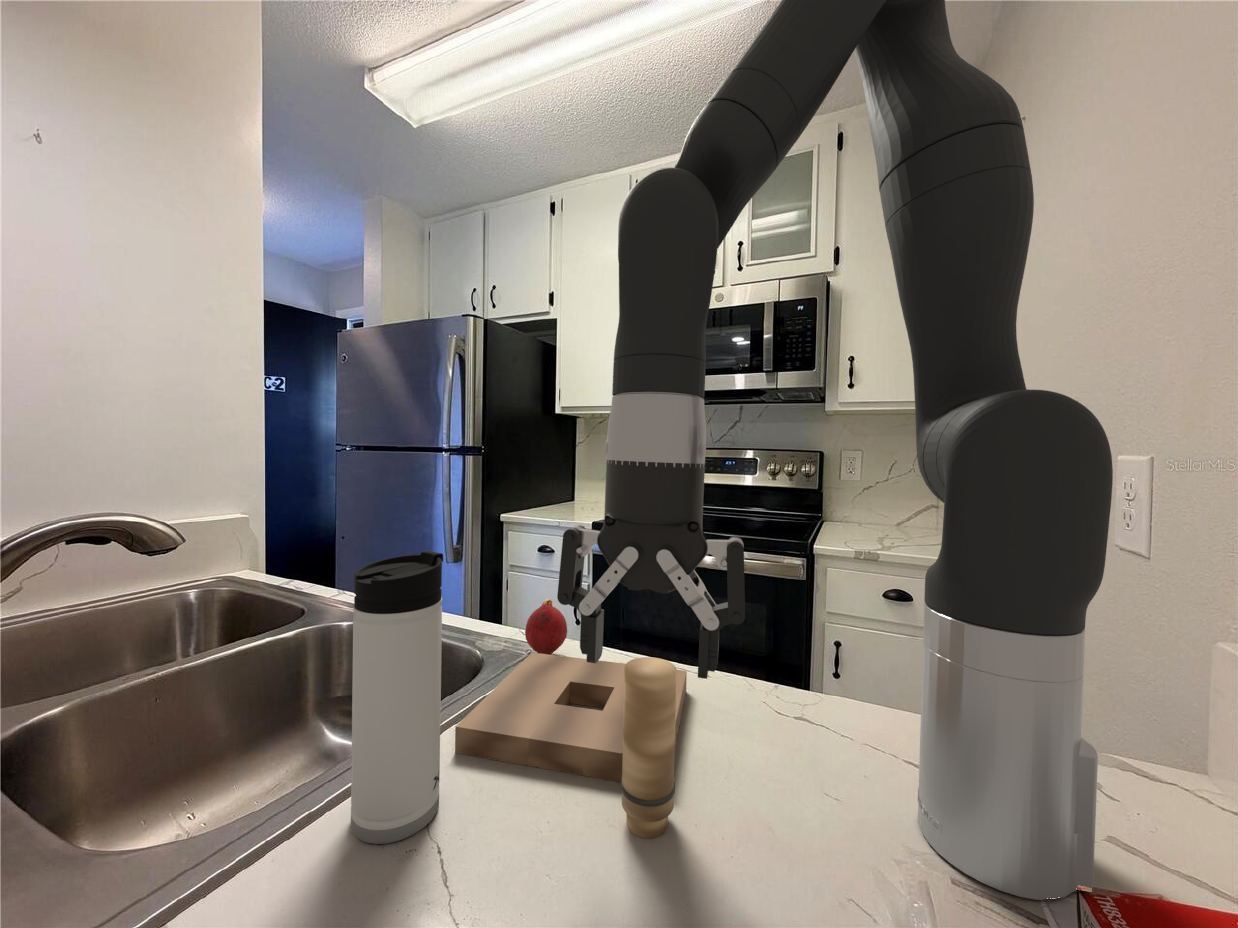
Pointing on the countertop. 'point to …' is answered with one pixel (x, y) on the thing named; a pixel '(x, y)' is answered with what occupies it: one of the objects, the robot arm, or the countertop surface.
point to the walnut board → (555, 717)
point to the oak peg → (648, 745)
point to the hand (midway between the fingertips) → (647, 666)
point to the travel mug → (396, 696)
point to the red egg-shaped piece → (546, 629)
